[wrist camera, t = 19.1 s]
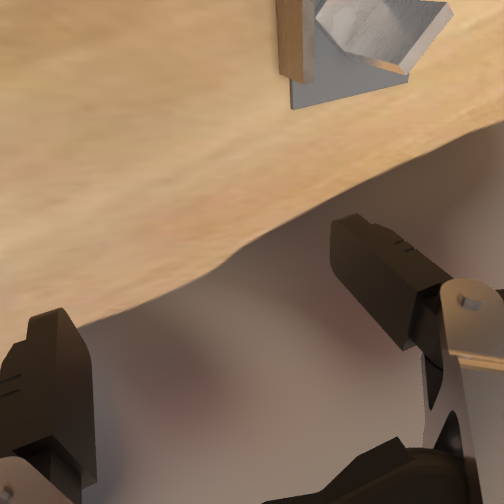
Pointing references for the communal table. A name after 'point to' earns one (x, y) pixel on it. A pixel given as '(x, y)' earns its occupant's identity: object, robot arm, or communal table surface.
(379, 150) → the communal table surface
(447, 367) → the robot arm
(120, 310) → the communal table surface
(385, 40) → the aluminium bracket
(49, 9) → the communal table surface
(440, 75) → the communal table surface
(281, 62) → the corner walls
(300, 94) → the corner mat
